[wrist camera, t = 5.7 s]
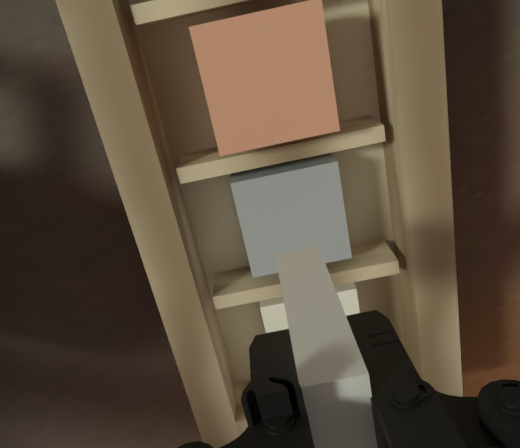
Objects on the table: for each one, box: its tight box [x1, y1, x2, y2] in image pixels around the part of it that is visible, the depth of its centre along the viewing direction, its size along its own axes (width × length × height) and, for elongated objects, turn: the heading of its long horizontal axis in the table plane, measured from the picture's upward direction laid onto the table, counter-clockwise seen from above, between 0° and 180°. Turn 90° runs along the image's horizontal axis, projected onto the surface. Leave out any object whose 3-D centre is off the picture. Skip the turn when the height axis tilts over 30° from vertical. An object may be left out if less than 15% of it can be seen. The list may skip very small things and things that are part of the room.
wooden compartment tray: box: [55, 0, 463, 448], centre depth 22 cm, size 14×30×4 cm, turn 12°
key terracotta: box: [189, 0, 340, 156], centre depth 19 cm, size 5×5×2 cm
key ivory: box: [259, 282, 360, 333], centre depth 25 cm, size 5×5×2 cm
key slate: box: [230, 153, 352, 278], centre depth 23 cm, size 5×5×2 cm
